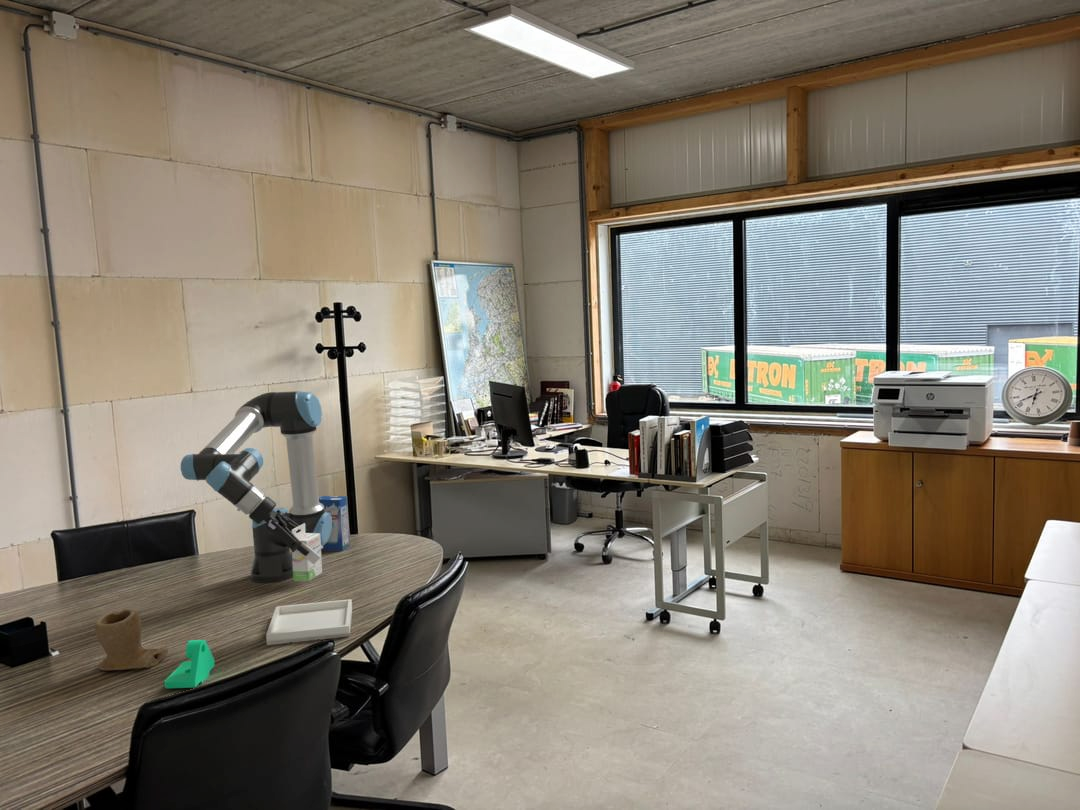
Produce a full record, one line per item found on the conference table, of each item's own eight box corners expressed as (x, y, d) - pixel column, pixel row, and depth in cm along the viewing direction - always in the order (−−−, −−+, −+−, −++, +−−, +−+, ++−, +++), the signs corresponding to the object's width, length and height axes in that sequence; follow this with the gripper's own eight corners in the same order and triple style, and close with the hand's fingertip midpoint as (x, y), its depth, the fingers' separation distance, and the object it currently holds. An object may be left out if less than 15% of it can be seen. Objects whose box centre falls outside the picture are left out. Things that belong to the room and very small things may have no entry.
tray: (277, 616, 237) (276, 606, 237) (352, 608, 241) (351, 599, 241) (266, 645, 215) (266, 634, 215) (349, 636, 220) (349, 625, 219)
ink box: (309, 581, 222) (305, 530, 220) (292, 581, 223) (289, 530, 221) (323, 572, 230) (320, 522, 229) (307, 571, 231) (304, 522, 230)
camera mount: (184, 670, 201) (181, 631, 200) (215, 669, 202) (212, 630, 200) (163, 692, 189) (160, 651, 188) (195, 691, 190) (192, 650, 188)
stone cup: (88, 678, 198) (82, 620, 197) (113, 658, 210) (108, 603, 209) (148, 676, 198) (143, 619, 197) (170, 656, 210) (166, 602, 208)
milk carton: (349, 546, 310) (346, 496, 308) (342, 550, 304) (339, 499, 302) (326, 545, 312) (323, 495, 310) (318, 550, 306) (315, 499, 304)
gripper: (253, 506, 232) (312, 554, 237) (240, 525, 211) (306, 577, 216) (271, 487, 233) (329, 535, 238) (260, 504, 211) (325, 556, 216)
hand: (318, 555), depth 227 cm, fingers closed on ink box, 9 cm apart
